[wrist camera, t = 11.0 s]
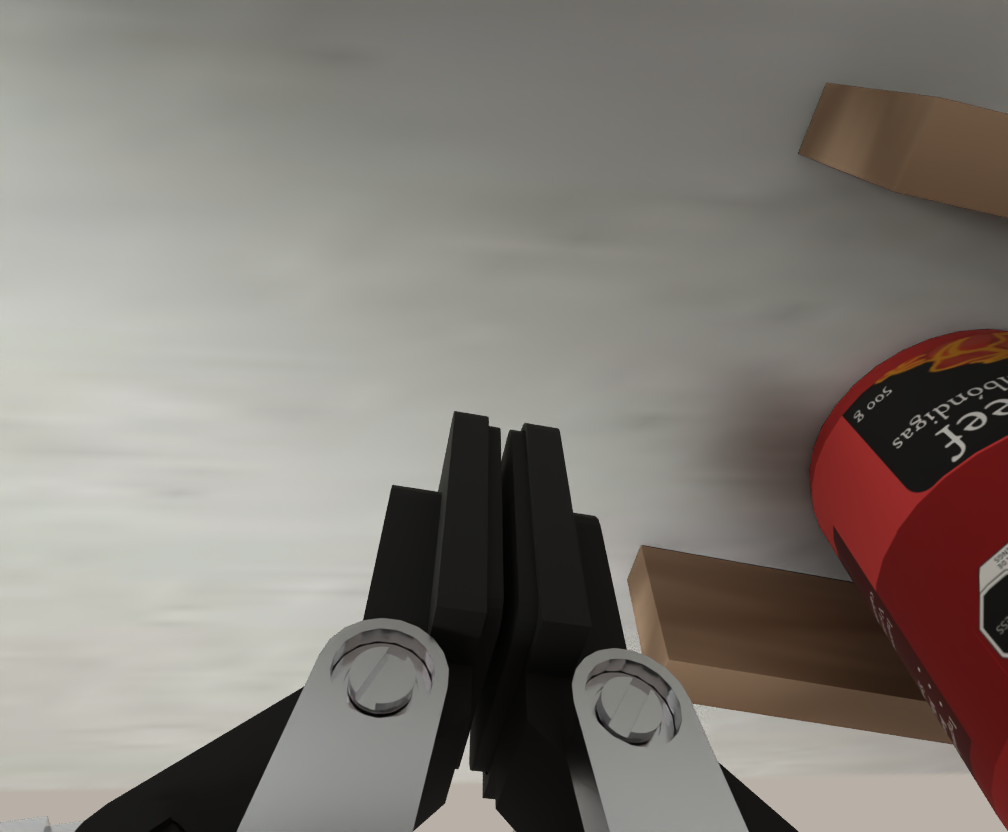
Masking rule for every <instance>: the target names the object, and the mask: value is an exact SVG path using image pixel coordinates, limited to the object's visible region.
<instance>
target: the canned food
mask: <svg viewBox="0 0 1008 832" xmlns="http://www.w3.org/2000/svg"><path fill="white" fill-rule="evenodd" d="M810 487H811V496H812V503H813V509H814V512H815V515H816V518H817V521H818V524H819V527H820V529H821V530H822V532H823V533H824V535H825V537H826V538H827V540H828V542H829V543H830V545H831V546H832V548H833V550H834V551H835V553H836V555H837V556H838V558H839V559H840V561H841V563H842V564H843V566H844V568H845V569H846V571H847V572H848V574H849V576H850V577H851V579H852V581H853V582H854V584H855V585H856V587H857V589H858V590H859V592H860V594H861V595H862V597H863V598H864V600H865V602H866V603H867V605H868V607H869V608H870V610H871V611H872V613H873V615H874V616H875V618H876V620H877V621H878V623H879V624H880V626H881V628H882V629H883V631H884V633H885V634H886V636H887V637H888V639H889V641H890V642H891V644H892V646H893V647H894V649H895V650H896V652H897V654H898V655H899V657H900V659H901V660H902V662H903V663H904V665H905V667H906V668H907V670H908V672H909V673H910V675H911V676H912V678H913V680H914V681H915V683H916V685H917V686H918V688H919V689H920V691H921V693H922V694H923V696H924V698H925V699H926V701H927V702H928V704H929V706H930V707H931V709H932V711H933V712H934V714H935V715H936V717H937V719H938V720H939V722H940V724H941V725H942V727H943V728H944V730H945V732H946V733H947V735H948V737H949V738H950V740H951V741H952V743H953V745H954V746H955V748H956V750H957V751H958V753H959V754H960V756H961V758H962V759H963V761H964V763H965V764H966V766H967V767H968V769H969V771H970V772H971V774H972V776H973V777H974V779H975V780H976V782H977V784H978V785H979V787H980V789H981V790H982V792H983V793H984V795H985V797H986V798H987V800H988V801H989V803H990V805H991V806H992V808H993V810H994V811H995V813H996V815H997V816H998V817H999V819H1000V820H1001V822H1002V823H1003V825H1004V826H1005V828H1006V829H1007V830H1008V331H1002V330H992V329H980V330H968V331H958V332H954V333H950V334H946V335H942V336H938V337H934V338H931V339H928V340H926V341H923V342H921V343H919V344H916V345H914V346H912V347H909V348H907V349H905V350H902V351H901V352H899V353H897V354H896V355H894V356H892V357H891V358H889V359H888V360H886V361H884V362H883V363H881V364H879V365H878V366H876V367H875V368H874V369H873V370H871V371H870V372H869V373H868V374H867V375H865V376H864V377H863V378H862V379H861V380H859V381H858V382H857V383H856V384H855V385H854V386H853V387H852V388H851V389H850V390H849V391H848V392H847V393H846V395H845V396H844V397H843V398H842V399H841V400H840V401H839V402H838V404H837V405H836V406H835V407H834V409H833V411H832V412H831V414H830V415H829V417H828V418H827V420H826V422H825V423H824V425H823V426H822V428H821V431H820V433H819V436H818V438H817V441H816V443H815V446H814V448H813V453H812V459H811V464H810Z"/></svg>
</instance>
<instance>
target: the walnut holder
mask: <svg viewBox="0 0 1008 832" xmlns="http://www.w3.org/2000/svg"><path fill="white" fill-rule="evenodd" d="M798 154H800V155H803V156H805V157H808V158H810V159H813V160H815V161H818V162H820V163H823V164H825V165H828V166H830V167H833V168H836V169H838V170H841V171H843V172H846V173H848V174H851V175H853V176H856V177H858V178H861V179H863V180H866V181H868V182H871V183H873V184H876V185H878V186H881V187H884V188H886V189H889V190H891V191H894V192H898V193H902V194H906V195H911V196H915V197H920V198H924V199H928V200H933V201H937V202H941V203H946V204H950V205H954V206H959V207H963V208H967V209H972V210H976V211H980V212H985V213H989V214H993V215H998V216H1002V217H1006V218H1008V114H1006V113H1002V112H997V111H993V110H989V109H985V108H981V107H977V106H973V105H969V104H965V103H961V102H957V101H952V100H948V99H944V98H940V97H933V96H926V95H918V94H910V93H902V92H894V91H887V90H879V89H871V88H863V87H856V86H848V85H840V84H832V83H826V85H825V87H824V90H823V92H822V95H821V97H820V100H819V102H818V105H817V107H816V110H815V112H814V115H813V117H812V120H811V122H810V125H809V127H808V130H807V132H806V135H805V137H804V140H803V142H802V145H801V147H800V150H799V152H798ZM627 581H628V586H629V591H630V596H631V601H632V606H633V611H634V616H635V621H636V625H637V630H638V635H639V640H640V645H641V650H642V655H645V656H648V657H650V658H651V659H653V660H654V661H656V662H657V663H659V664H660V665H662V666H663V667H665V668H666V669H667V670H668V671H669V672H670V673H671V674H672V675H673V676H674V677H675V678H676V679H677V680H678V681H679V682H680V683H681V685H682V686H683V688H684V690H685V691H686V693H687V695H688V696H689V698H690V700H691V702H692V703H693V704H699V705H705V706H712V707H718V708H724V709H731V710H737V711H744V712H750V713H756V714H763V715H769V716H775V717H782V718H788V719H795V720H801V721H807V722H814V723H820V724H826V725H833V726H839V727H846V728H852V729H858V730H865V731H871V732H877V733H884V734H890V735H897V736H903V737H909V738H916V739H922V740H928V741H935V742H941V743H948V744H953V743H952V741H951V740H950V738H949V737H948V735H947V733H946V732H945V730H944V728H943V727H942V725H941V724H940V722H939V720H938V719H937V717H936V715H935V714H934V712H933V711H932V709H931V707H930V706H929V704H928V702H927V701H926V699H925V698H924V696H923V694H922V693H921V691H920V689H919V688H918V686H917V685H916V683H915V681H914V680H913V678H912V676H911V675H910V673H909V672H908V670H907V668H906V667H905V665H904V663H903V662H902V660H901V659H900V657H899V655H898V654H897V652H896V650H895V649H894V647H893V646H892V644H891V642H890V641H889V639H888V637H887V636H886V634H885V633H884V631H883V629H882V628H881V626H880V624H879V623H878V621H877V620H876V618H875V616H874V615H873V613H872V611H871V610H870V608H869V607H868V605H867V603H866V602H865V600H864V598H863V597H862V595H861V594H860V592H859V590H858V589H857V587H856V585H855V584H854V583H851V582H845V581H840V580H834V579H828V578H823V577H817V576H811V575H806V574H800V573H794V572H789V571H783V570H777V569H772V568H766V567H760V566H755V565H749V564H743V563H738V562H732V561H726V560H721V559H715V558H709V557H704V556H698V555H692V554H687V553H681V552H675V551H670V550H664V549H658V548H653V547H647V546H641V547H640V549H639V552H638V554H637V557H636V559H635V562H634V564H633V567H632V569H631V572H630V574H629V577H628V579H627Z"/></svg>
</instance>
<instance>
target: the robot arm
mask: <svg viewBox="0 0 1008 832" xmlns="http://www.w3.org/2000/svg"><path fill="white" fill-rule="evenodd" d="M469 732H470V757H469V764H470V770H472V771H482V772H483V798H488V799H496V809H497V811H498V812H499V813H500V814H501V815H502V816H503V817H504V819H505V820H506V821H507V822H508V823H509V824H510V825H511V827H512V828H513V832H798V831H797V830H796V829H795V828H794V827H793V826H791V825H790V824H789V823H788V822H787V821H786V820H784V819H783V818H782V817H781V816H780V815H779V814H778V813H776V812H775V811H774V810H773V809H772V808H771V807H769V806H768V805H767V804H766V803H765V802H764V801H763V800H761V799H760V798H759V797H758V796H757V795H756V794H754V793H753V792H752V791H751V790H750V789H749V788H748V787H746V786H745V785H744V784H743V783H742V782H741V781H739V780H738V779H737V778H736V777H735V776H734V775H733V774H731V773H730V772H729V771H728V770H727V769H726V768H724V767H723V766H722V765H721V764H720V763H719V762H718V761H717V759H716V756H715V754H714V752H713V750H712V747H711V745H710V743H709V741H708V738H707V736H706V734H705V732H704V729H703V727H702V725H701V722H700V720H699V718H698V716H697V713H696V711H695V709H694V707H693V704H692V702H691V700H690V698H689V696H688V695H687V693H686V691H685V690H684V688H683V686H682V685H681V683H680V682H679V681H678V680H677V679H676V678H675V677H674V676H673V675H672V674H671V673H670V672H669V671H668V670H667V669H666V668H665V667H663V666H662V665H660V664H659V663H657V662H656V661H654V660H653V659H651V658H650V657H648V656H645V655H642V654H640V653H637V652H635V651H632V650H627V648H626V644H625V639H624V634H623V630H622V625H621V620H620V615H619V611H618V606H617V601H616V597H615V592H614V587H613V582H612V578H611V573H610V568H609V564H608V559H607V554H606V550H605V545H604V540H603V535H602V531H601V526H600V523H599V520H598V518H597V517H595V516H591V515H585V514H578V513H573V509H572V503H571V497H570V491H569V485H568V478H567V472H566V466H565V460H564V454H563V448H562V442H561V435H560V431H559V429H558V428H552V427H546V426H540V425H534V424H528V423H524V425H523V427H522V429H521V431H515V430H510V431H509V433H508V437H507V440H506V444H505V448H504V452H503V456H502V460H501V431H500V428H498V427H492V426H489V418H488V417H487V416H481V415H475V414H469V413H463V412H457V411H454V414H453V418H452V423H451V428H450V434H449V439H448V444H447V449H446V454H445V459H444V464H443V469H442V475H441V480H440V485H439V490H438V492H435V491H429V490H422V489H416V488H409V487H403V486H396V485H392V488H391V492H390V497H389V502H388V506H387V511H386V516H385V520H384V525H383V530H382V534H381V539H380V544H379V548H378V553H377V558H376V563H375V567H374V572H373V577H372V581H371V586H370V591H369V595H368V600H367V605H366V609H365V614H364V619H363V620H362V621H360V622H357V623H355V624H352V625H350V626H347V627H345V628H343V629H342V630H341V631H340V632H338V633H337V634H336V635H334V636H333V637H332V638H330V639H329V641H328V642H327V644H326V645H325V647H324V648H323V650H322V651H321V652H320V654H319V656H318V658H317V660H316V662H315V665H314V667H313V669H312V671H311V673H310V675H309V677H308V680H307V682H306V684H305V686H304V687H303V688H301V689H299V690H298V691H296V692H294V693H292V694H291V695H289V696H287V697H286V698H284V699H282V700H281V701H279V702H277V703H276V704H274V705H272V706H271V707H269V708H267V709H266V710H264V711H262V712H261V713H259V714H257V715H256V716H254V717H252V718H251V719H249V720H247V721H245V722H244V723H242V724H240V725H239V726H237V727H235V728H234V729H232V730H230V731H229V732H227V733H225V734H224V735H222V736H220V737H219V738H217V739H215V740H214V741H212V742H210V743H209V744H207V745H205V746H204V747H202V748H200V749H198V750H197V751H195V752H193V753H192V754H190V755H188V756H187V757H185V758H183V759H182V760H180V761H178V762H177V763H175V764H173V765H172V766H170V767H168V768H167V769H165V770H163V771H162V772H160V773H158V774H157V775H155V776H153V777H151V778H150V779H148V780H146V781H145V782H143V783H141V784H140V785H138V786H136V787H135V788H133V789H131V790H130V791H128V792H126V793H125V794H123V795H121V796H120V797H118V798H116V799H115V800H113V801H111V802H110V803H108V804H106V805H105V806H104V807H102V808H101V809H100V810H98V811H97V812H96V813H94V814H93V815H92V816H90V817H89V818H88V819H86V820H85V821H79V822H72V823H65V824H58V825H50V822H49V818H48V816H45V817H37V818H29V819H22V820H14V821H7V822H0V832H413V831H414V830H415V829H416V828H418V827H419V826H420V825H421V824H422V823H423V822H424V821H425V820H427V819H428V818H429V817H430V816H431V815H432V814H433V813H435V812H436V811H437V810H438V809H439V808H440V807H441V806H443V805H444V804H445V801H446V798H447V794H448V791H449V787H450V784H451V781H452V777H453V774H454V770H455V769H459V766H460V763H461V759H462V756H463V753H464V749H465V746H466V742H467V739H468V736H469Z"/></svg>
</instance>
